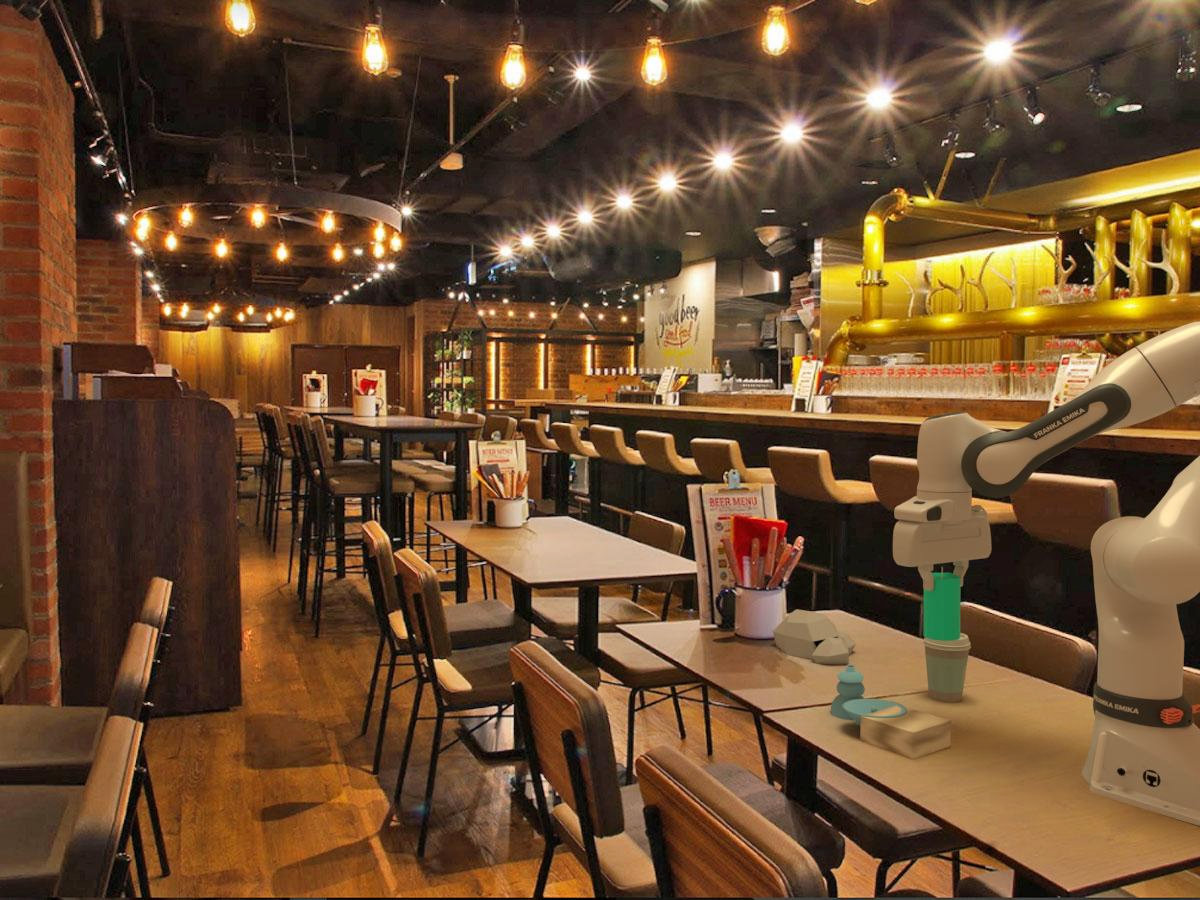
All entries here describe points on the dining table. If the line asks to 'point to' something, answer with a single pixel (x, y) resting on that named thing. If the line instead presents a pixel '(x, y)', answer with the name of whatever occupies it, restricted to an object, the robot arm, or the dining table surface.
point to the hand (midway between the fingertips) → (943, 588)
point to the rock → (813, 638)
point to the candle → (943, 608)
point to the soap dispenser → (857, 698)
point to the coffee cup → (946, 667)
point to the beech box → (906, 732)
